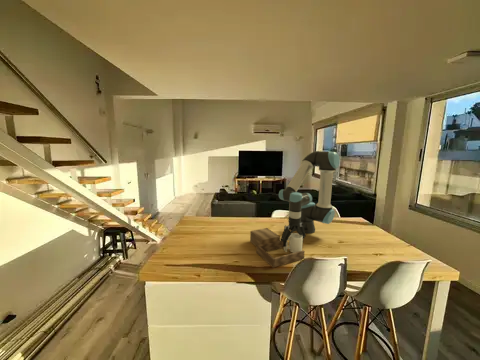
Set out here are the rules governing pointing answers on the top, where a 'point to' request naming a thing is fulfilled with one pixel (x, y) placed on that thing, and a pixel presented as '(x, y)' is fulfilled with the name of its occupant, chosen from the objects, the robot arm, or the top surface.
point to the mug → (295, 242)
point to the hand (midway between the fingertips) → (292, 248)
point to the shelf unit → (272, 247)
